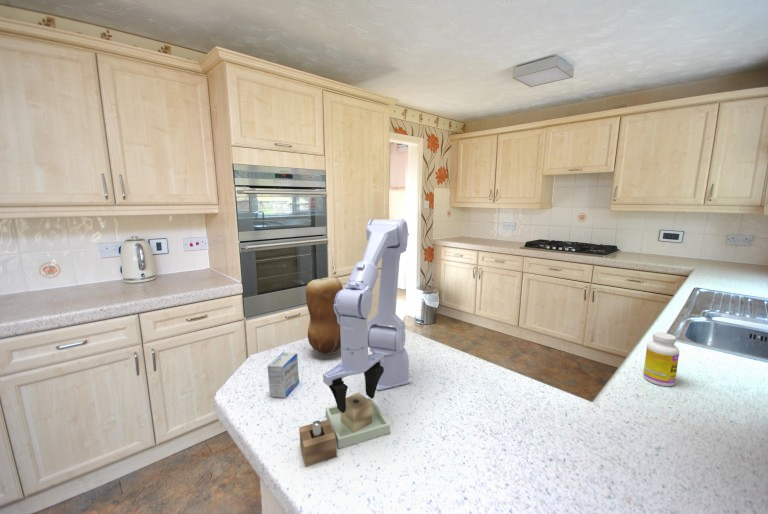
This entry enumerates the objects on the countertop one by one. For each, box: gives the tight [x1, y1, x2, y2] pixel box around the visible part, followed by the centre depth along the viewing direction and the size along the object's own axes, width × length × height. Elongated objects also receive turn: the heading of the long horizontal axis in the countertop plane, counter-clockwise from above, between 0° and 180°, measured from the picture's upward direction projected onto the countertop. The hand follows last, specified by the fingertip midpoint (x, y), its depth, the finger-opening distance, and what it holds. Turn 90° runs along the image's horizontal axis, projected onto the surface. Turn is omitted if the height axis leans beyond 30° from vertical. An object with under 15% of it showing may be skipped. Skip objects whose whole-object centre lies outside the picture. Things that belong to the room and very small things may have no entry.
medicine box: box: [267, 351, 300, 399], centre depth 87 cm, size 8×4×9 cm, turn 168°
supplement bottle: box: [642, 331, 680, 387], centre depth 88 cm, size 7×7×13 cm
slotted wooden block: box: [298, 419, 338, 467], centre depth 65 cm, size 6×6×4 cm
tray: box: [325, 396, 391, 449], centre depth 73 cm, size 11×11×2 cm
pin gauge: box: [311, 420, 321, 438], centre depth 65 cm, size 2×2×6 cm
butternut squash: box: [305, 276, 344, 355], centre depth 107 cm, size 14×13×25 cm
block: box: [340, 391, 372, 433], centre depth 73 cm, size 5×5×5 cm
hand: (356, 403), depth 72 cm, fingers open, 7 cm apart
